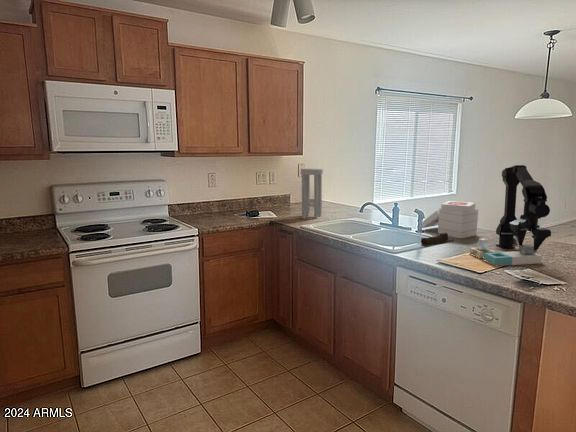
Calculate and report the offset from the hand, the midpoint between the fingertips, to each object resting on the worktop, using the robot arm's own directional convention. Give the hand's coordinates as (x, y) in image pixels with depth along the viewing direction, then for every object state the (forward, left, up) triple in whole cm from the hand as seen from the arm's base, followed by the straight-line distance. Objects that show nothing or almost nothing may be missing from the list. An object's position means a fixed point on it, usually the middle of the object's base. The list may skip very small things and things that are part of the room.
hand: (527, 248), depth 178 cm
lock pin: (-11, -14, -6) cm, 19 cm away
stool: (-126, -73, -6) cm, 146 cm away
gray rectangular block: (0, 0, -6) cm, 6 cm away
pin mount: (-11, -14, -6) cm, 19 cm away
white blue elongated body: (-38, +21, -6) cm, 44 cm away
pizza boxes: (-59, -4, -6) cm, 60 cm away
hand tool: (-39, -23, -6) cm, 46 cm away
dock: (0, -6, -6) cm, 8 cm away
